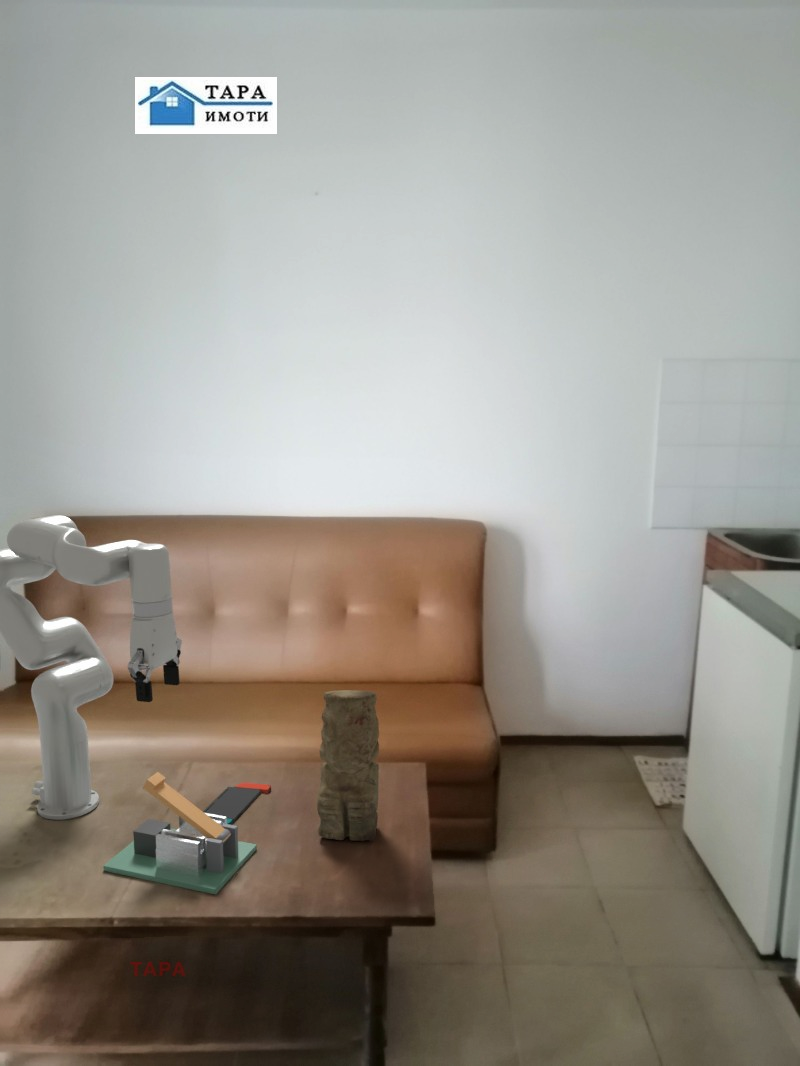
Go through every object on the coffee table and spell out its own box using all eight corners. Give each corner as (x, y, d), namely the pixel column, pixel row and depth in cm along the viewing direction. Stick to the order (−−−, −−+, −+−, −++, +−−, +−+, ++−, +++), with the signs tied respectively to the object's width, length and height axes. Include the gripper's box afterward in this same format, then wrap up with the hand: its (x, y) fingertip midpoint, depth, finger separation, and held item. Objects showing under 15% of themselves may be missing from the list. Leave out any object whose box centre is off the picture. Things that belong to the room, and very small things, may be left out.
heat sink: (156, 868, 160) (155, 836, 159) (188, 838, 170) (187, 809, 169) (198, 876, 157) (197, 844, 156) (228, 846, 167) (227, 816, 166)
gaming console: (192, 826, 178) (235, 831, 176) (191, 822, 178) (235, 826, 175) (233, 785, 197) (273, 789, 194) (233, 781, 196) (273, 784, 194)
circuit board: (103, 870, 161) (101, 835, 160) (152, 829, 176) (151, 796, 175) (215, 894, 154) (214, 858, 152) (256, 849, 168) (255, 815, 167)
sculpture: (315, 844, 170) (313, 702, 165) (321, 821, 179) (319, 686, 174) (376, 845, 170) (376, 704, 165) (379, 822, 179) (379, 687, 174)
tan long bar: (228, 839, 163) (233, 830, 162) (219, 849, 159) (224, 839, 159) (152, 781, 166) (157, 771, 165) (142, 789, 163) (147, 779, 162)
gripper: (159, 597, 173) (165, 677, 176) (108, 618, 157) (116, 706, 159) (192, 598, 171) (198, 679, 174) (144, 620, 155) (151, 709, 157)
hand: (158, 692), depth 167 cm, fingers open, 9 cm apart
